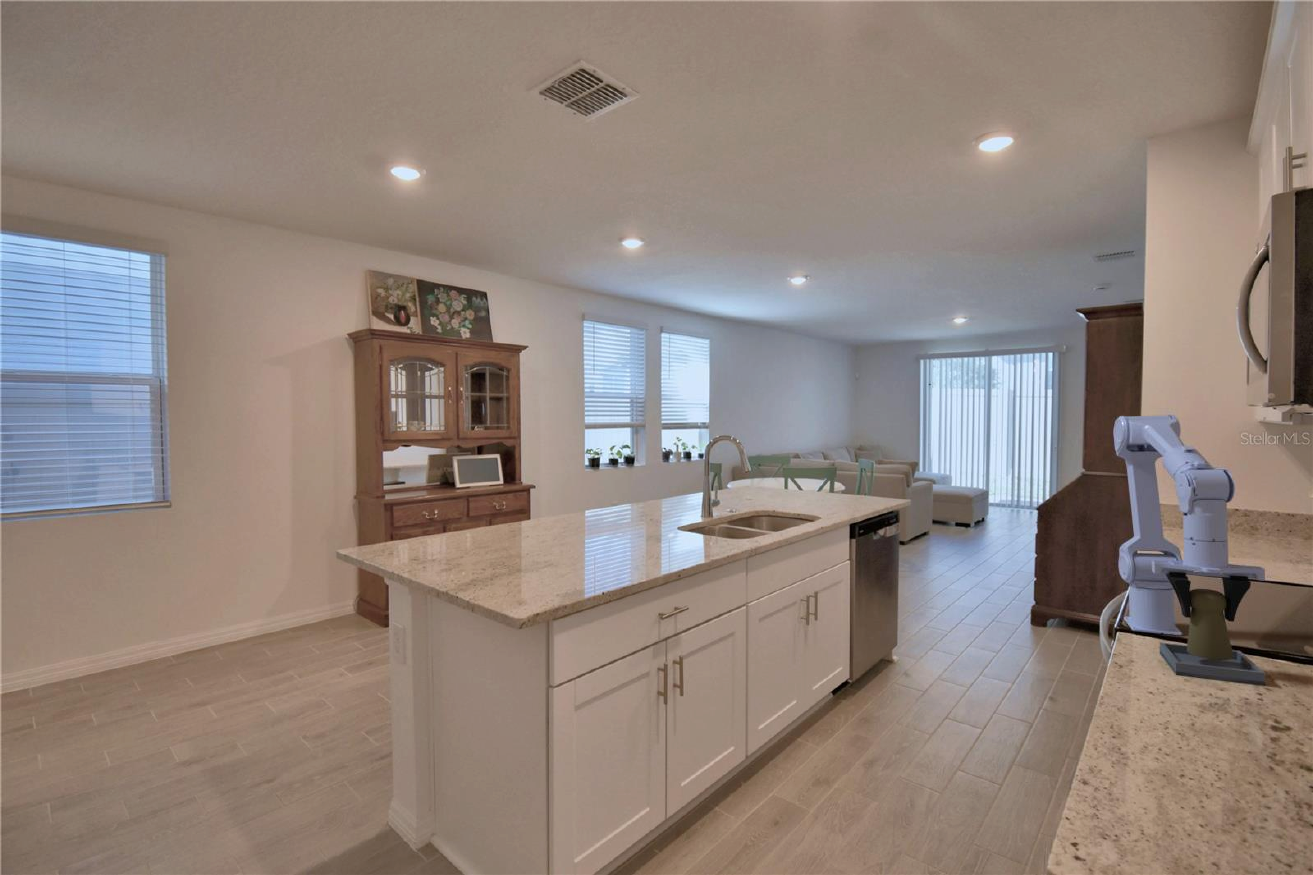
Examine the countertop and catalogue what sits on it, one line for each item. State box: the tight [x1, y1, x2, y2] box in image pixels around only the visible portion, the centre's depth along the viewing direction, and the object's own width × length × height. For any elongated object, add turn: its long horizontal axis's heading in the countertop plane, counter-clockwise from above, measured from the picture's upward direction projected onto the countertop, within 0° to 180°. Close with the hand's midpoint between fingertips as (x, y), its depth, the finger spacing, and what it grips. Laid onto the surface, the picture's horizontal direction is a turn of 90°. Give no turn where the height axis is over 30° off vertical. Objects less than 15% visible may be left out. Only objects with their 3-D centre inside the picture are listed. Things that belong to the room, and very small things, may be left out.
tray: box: [1159, 642, 1266, 687], centre depth 106 cm, size 11×11×2 cm
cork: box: [1187, 588, 1234, 660], centre depth 107 cm, size 6×6×11 cm
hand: (1207, 618), depth 106 cm, fingers closed on cork, 5 cm apart
